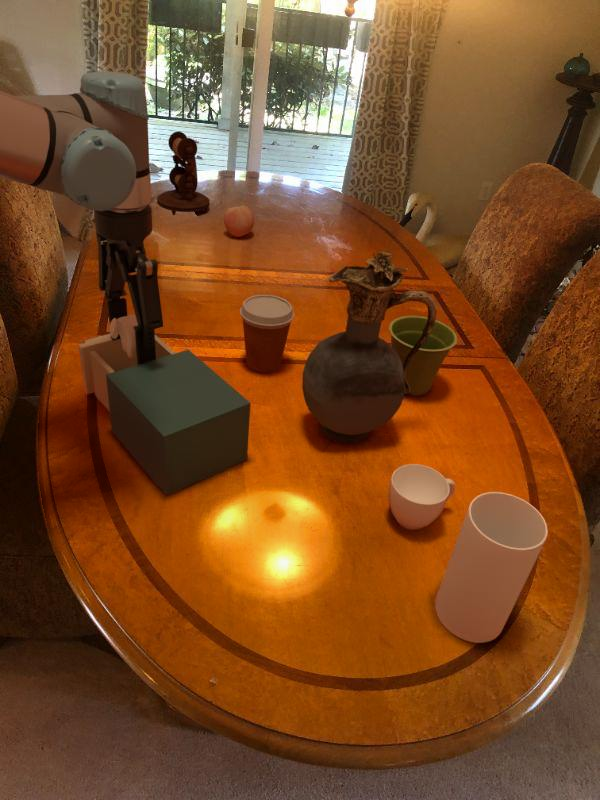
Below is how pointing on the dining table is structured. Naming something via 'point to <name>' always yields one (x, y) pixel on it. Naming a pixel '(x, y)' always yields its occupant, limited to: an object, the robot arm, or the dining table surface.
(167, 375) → the cabinet
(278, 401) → the dining table surface
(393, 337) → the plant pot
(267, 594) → the dining table surface
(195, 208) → the brown mechanical sculpture
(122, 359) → the drawer
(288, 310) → the disposable coffee cup
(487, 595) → the cup
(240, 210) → the apple
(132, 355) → the elephant figurine
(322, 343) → the pitcher
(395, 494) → the cup
